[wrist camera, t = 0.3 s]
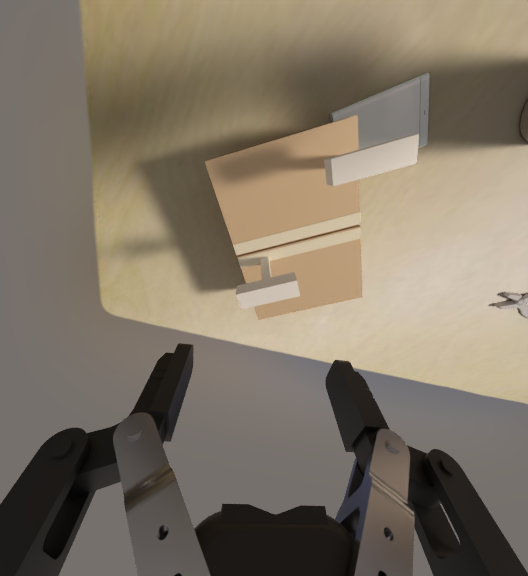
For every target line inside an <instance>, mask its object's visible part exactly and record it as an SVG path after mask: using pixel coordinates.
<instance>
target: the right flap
mask: <svg viewBox="0 0 528 576" xmlns="http://www.w3.org/2000/svg"><path fill="white" fill-rule="evenodd" d="M237 258H238V262H239V264H240V267H241V270H242V273H243V276H244V279H245V282H246V284H242V285H237V290H236V297H237V299H238V302H239V305H240V307H241V309H246V308H250V307H254V308H255V311H256V314H257V317H258V320H260V319H264V318H269V317H274V316H278V315H283V314H287V313H292V312H296V311H301V310H305V309H310V308H314V307H319V306H323V305H328V304H333V303H337V302H342V301H346V300H351V299H355V298H360V297H362V270H361V227H360V226H359V225H356V226H352V227H348V228H345V229H341V230H337V231H333V232H329V233H325V234H321V235H317V236H313V237H309V238H305V239H301V240H297V241H293V242H289V243H285V244H282V245H278V246H274V247H270V248H266V249H262V250H258V251H254V252H250V253H246V254H242V255H238V256H237Z"/></svg>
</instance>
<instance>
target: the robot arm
mask: <svg viewBox="0 0 528 576" xmlns="http://www.w3.org/2000/svg"><path fill="white" fill-rule="evenodd" d="M520 130H521V133H522V136H523V138H524V139H525V140H526V141H528V101H527V103H526V105H525V107H524V110H523V113H522V116H521V122H520ZM192 368H193V345H190V344H180V343H179V344H178V345H177V347H176V350H175V352H174V353H165V354H164V355H163V356H162V357H161V358H160V359H159V360H158V361H157V363H156V365H155V367H154V370H153V371H152V373H151V375H150V378H149V379H148V381H147V383H146V385H145V387H144V389H143V392H142V393H141V395H140V397H139V399H138V401H137V403H136V405H135V407H134V409H133V411H132V412H131V413H130V415H129V416H128V417H127V418H125V419H124V420H123V421H122V422H120V423H119V424H117V425H115V426H112V427H110V428H106V429H102V430H98V431H94V432H90V433H86V432H85V431H84V430H82V429H80V428H69V429H66V430H63V431H61V432H58V433H57V434H55V435H54V436H52V437H51V438H49V439H48V440H47V441H46V442H45V443H44V444H43V445H42V446H41V447H40V449H39V450H38V452H37V453H36V455H35V456H34V457H33V459H32V460H31V462H30V463H29V465H28V466H27V467H26V469H25V470H24V472H23V473H22V474H21V476H20V477H19V479H18V480H17V482H16V483H15V484H14V486H13V487H12V489H11V490H10V492H9V493H8V495H7V496H6V498H5V499H4V500H3V502H2V503H1V504H0V576H58V575H59V573H60V571H61V568H62V566H63V564H64V562H65V560H66V557H67V555H68V553H69V550H70V548H71V546H72V543H73V541H74V539H75V537H76V535H77V532H78V530H79V528H80V525H81V523H82V521H83V518H84V516H85V514H86V512H87V510H88V507H89V505H90V503H91V501H92V498H93V496H94V494H95V491H96V490H98V489H101V488H104V487H107V486H109V485H112V484H115V483H118V482H121V483H122V488H123V494H124V505H125V511H126V517H127V522H128V527H129V532H130V537H131V542H132V547H133V553H134V558H135V563H136V568H137V573H138V576H413V575H412V574H413V550H414V527H415V530H416V532H417V535H418V537H419V540H420V542H421V545H422V547H423V550H424V553H425V555H426V557H427V560H428V562H429V565H430V568H431V570H432V573H433V575H434V576H528V573H527V572H526V570H525V568H524V567H523V565H522V564H521V562H520V561H519V559H518V558H517V556H516V554H515V553H514V551H513V549H512V548H511V546H510V545H509V543H508V541H507V540H506V538H505V537H504V535H503V534H502V532H501V530H500V529H499V527H498V525H497V524H496V522H495V521H494V519H493V518H492V516H491V514H490V513H489V511H488V510H487V508H486V506H485V505H484V503H483V502H482V500H481V498H480V497H479V496H478V494H477V492H476V490H475V489H474V487H473V486H472V484H471V483H470V481H469V479H468V478H467V477H466V475H465V473H464V471H463V470H462V468H461V467H460V466H459V464H458V463H457V462H456V461H455V460H454V459H453V458H452V457H450V456H449V455H448V454H446V453H445V452H443V451H441V450H437V449H433V450H431V451H430V452H429V453H424V452H422V451H419V450H417V449H414V448H412V447H409V446H408V445H406V443H405V442H404V440H403V439H402V438H401V437H400V436H399V435H397V434H396V433H395V432H393V431H391V430H390V429H389V427H388V425H387V423H386V421H385V419H384V417H383V415H382V413H381V411H380V409H379V407H378V405H377V403H376V401H375V399H374V398H373V395H372V393H371V391H370V390H369V387H368V385H367V383H366V381H365V379H364V378H363V377H362V376H361V375H360V374H359V373H358V372H355V371H354V370H353V367H352V365H351V363H350V362H349V361H341V360H335V361H334V362H333V364H332V366H331V368H330V370H329V372H328V374H327V377H326V389H327V392H328V395H329V398H330V402H331V405H332V408H333V411H334V415H335V418H336V421H337V424H338V428H339V431H340V434H341V437H342V441H343V444H344V447H345V450H346V452H354V453H355V456H356V459H355V461H354V464H353V468H352V471H351V475H350V479H349V483H348V486H347V489H346V493H345V497H344V500H343V502H342V504H341V507H340V508H339V511H338V513H337V515H336V518H335V519H333V518H331V517H330V516H328V515H326V510H325V506H299V507H296V508H294V509H291V510H288V511H285V512H283V513H280V514H277V515H274V514H271V513H269V512H266V511H264V510H261V509H259V508H256V507H254V506H251V505H248V504H222V509H221V511H220V512H217V513H215V514H213V515H211V516H209V517H208V518H206V519H205V520H203V521H202V522H201V523H200V524H199V525H198V526H197V527H196V528H195V529H194V527H193V525H192V522H191V519H190V516H189V513H188V510H187V508H186V505H185V502H184V499H183V496H182V493H181V491H180V488H179V485H178V482H177V479H176V477H175V474H174V472H173V470H172V468H171V467H170V465H169V462H168V459H167V456H166V454H165V451H164V448H163V442H164V441H171V439H172V435H173V432H174V428H175V426H176V422H177V419H178V416H179V413H180V409H181V406H182V403H183V400H184V397H185V393H186V390H187V387H188V383H189V380H190V377H191V373H192ZM441 503H442V505H443V507H444V509H445V511H446V513H447V515H448V517H449V519H450V521H451V523H452V525H453V527H454V529H455V531H456V533H457V535H458V537H459V540H460V544H459V542H458V540H457V538H456V536H455V534H454V532H453V530H452V528H451V526H450V524H449V522H448V520H447V518H446V515H445V513H444V512H443V509H442V508H441V505H440V504H441ZM460 545H461V546H460Z"/></svg>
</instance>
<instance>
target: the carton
mask: <svg viewBox="0 0 528 576" xmlns="http://www.w3.org/2000/svg"><path fill="white" fill-rule="evenodd" d="M418 144H419V134H416V135H410V136H404V137H401V138H397V139H394V140H390V141H387V142H383V143H380V144H376V145H373V146H369V147H366V148H362V149H359V143H358V115H357V116H356V115H354V116H351V117H347V118H344V119H341V120H338V121H334V122H331V123H328V124H324V125H321V126H318V127H315V128H311V129H308V130H305V131H301V132H298V133H295V134H292V135H288V136H285V137H282V138H278V139H275V140H272V141H269V142H265V143H262V144H259V145H256V146H252V147H249V148H246V149H242V150H239V151H236V152H233V153H229V154H226V155H223V156H219V157H216V158H213V159H210V160H206V161H205V165H206V167H207V170H208V173H209V176H210V179H211V182H212V185H213V188H214V191H215V194H216V197H217V200H218V203H219V206H220V208H221V211H222V214H223V217H224V220H225V223H226V226H227V229H228V232H229V235H230V238H231V241H232V244H233V247H234V250H235V253H236V255H237V256H238V255H242V254H246V253H250V252H254V251H258V250H262V249H266V248H270V247H274V246H278V245H282V244H285V243H289V242H293V241H297V240H301V239H305V238H309V237H313V236H317V235H321V234H325V233H329V232H333V231H337V230H341V229H345V228H348V227H352V226H356V225H359V224H361V213H360V186H359V179H362V178H366V177H369V176H373V175H377V174H380V173H384V172H388V171H391V170H395V169H399V168H402V167H406V166H409V165H413V164H417V154H418Z"/></svg>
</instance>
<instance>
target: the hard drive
mask: <svg viewBox="0 0 528 576" xmlns="http://www.w3.org/2000/svg"><path fill="white" fill-rule="evenodd" d="M429 85H430V75H429V72H427V73H425V74H423V75H420V76H418V77H416V78H413V79H411V80H408V81H406V82H404V83H401V84H399V85H396V86H394V87H392V88H389V89H387V90H385V91H382V92H380V93H377V94H375V95H373V96H370V97H368V98H366V99H363V100H361V101H358V102H356V103H354V104H351V105H349V106H347V107H344V108H342V109H340V110H337V111H335V112H333V113H331V114H330V121H331V122H334V121H338V120H341V119H344V118H347V117H351V116H354V115H356V116H357V115H358V143H359V149H362V148H366V147H369V146H373V145H376V144H380V143H383V142H387V141H390V140H394V139H397V138H401V137H404V136H410V135H416V134H419V144H418V148H421V147H424V146H426V145H427V141H428V116H429Z"/></svg>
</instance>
